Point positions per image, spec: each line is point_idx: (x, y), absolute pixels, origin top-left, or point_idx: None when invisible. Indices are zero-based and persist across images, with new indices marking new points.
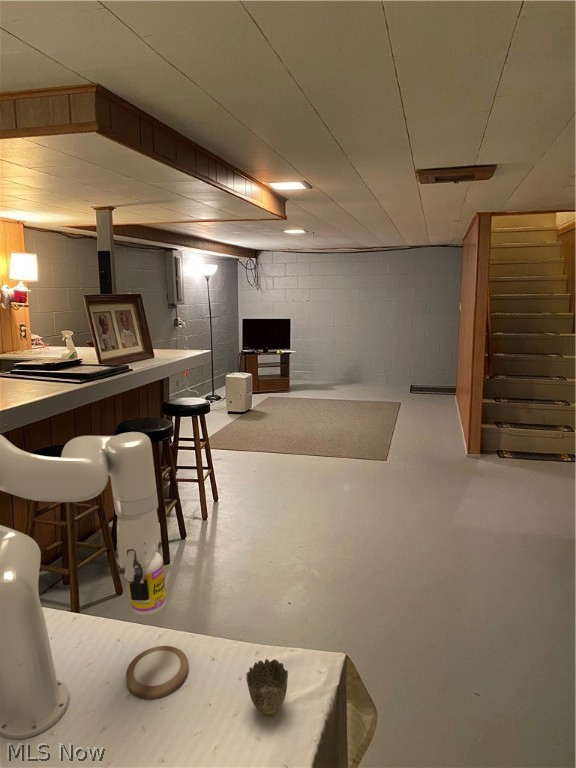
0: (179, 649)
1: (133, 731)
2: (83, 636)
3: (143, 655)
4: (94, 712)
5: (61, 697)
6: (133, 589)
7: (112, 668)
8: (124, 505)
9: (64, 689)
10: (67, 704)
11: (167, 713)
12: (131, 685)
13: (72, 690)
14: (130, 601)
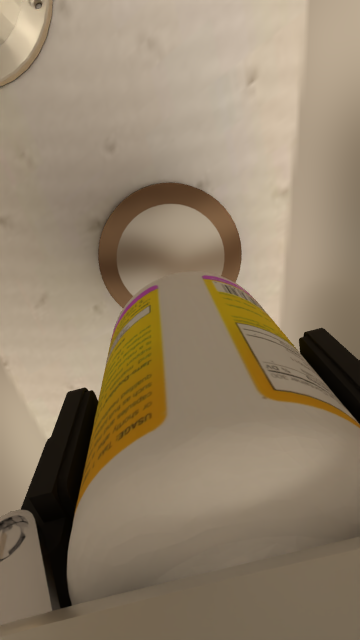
0: (235, 280)
1: (27, 285)
2: None
3: (198, 203)
4: (26, 171)
5: (4, 51)
6: (31, 489)
7: (154, 128)
8: None
9: (29, 38)
10: (4, 83)
11: (89, 324)
12: (106, 229)
13: (54, 57)
14: (128, 312)
